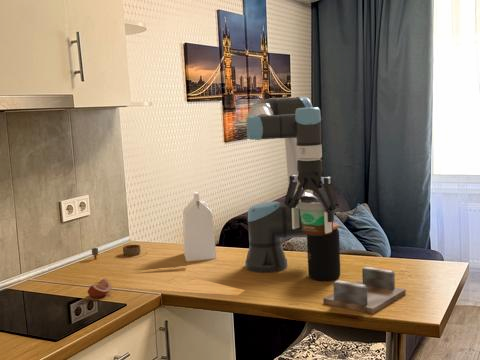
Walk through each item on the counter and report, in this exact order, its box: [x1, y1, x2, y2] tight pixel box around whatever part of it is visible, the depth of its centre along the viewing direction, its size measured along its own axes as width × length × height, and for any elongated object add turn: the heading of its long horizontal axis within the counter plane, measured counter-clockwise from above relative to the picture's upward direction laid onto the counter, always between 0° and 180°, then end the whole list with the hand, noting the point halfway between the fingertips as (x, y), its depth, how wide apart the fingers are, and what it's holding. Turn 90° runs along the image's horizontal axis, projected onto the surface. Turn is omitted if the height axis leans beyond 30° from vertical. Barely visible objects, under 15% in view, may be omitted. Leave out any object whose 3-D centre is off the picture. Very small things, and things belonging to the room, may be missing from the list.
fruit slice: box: [87, 278, 112, 298], centre depth 187 cm, size 8×7×5 cm
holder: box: [322, 266, 407, 315], centre depth 172 cm, size 16×20×7 cm
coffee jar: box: [306, 221, 341, 282], centre depth 195 cm, size 11×11×18 cm
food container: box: [297, 199, 334, 236], centre depth 178 cm, size 12×6×10 cm, turn 58°
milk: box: [182, 191, 217, 262], centre depth 228 cm, size 12×12×26 cm
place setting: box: [91, 244, 148, 261], centre depth 237 cm, size 18×20×6 cm
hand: (311, 230), depth 179 cm, fingers closed on food container, 11 cm apart
